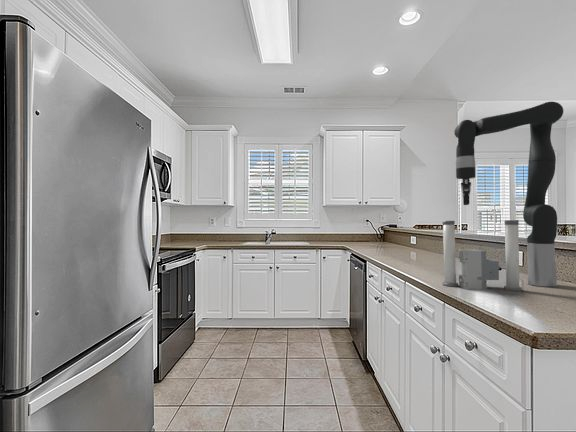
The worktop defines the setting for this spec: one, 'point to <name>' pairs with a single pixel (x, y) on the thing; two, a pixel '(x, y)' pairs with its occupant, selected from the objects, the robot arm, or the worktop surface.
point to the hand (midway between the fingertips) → (466, 204)
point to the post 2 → (512, 255)
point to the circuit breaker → (477, 269)
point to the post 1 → (449, 254)
